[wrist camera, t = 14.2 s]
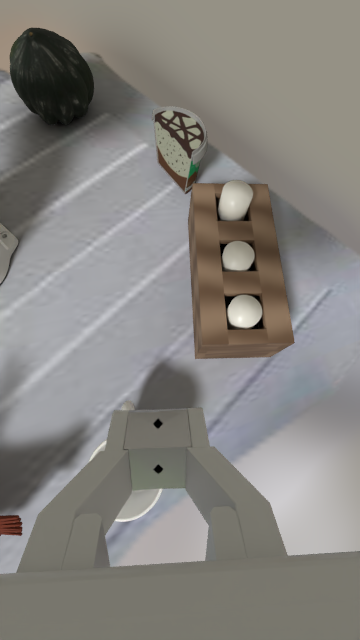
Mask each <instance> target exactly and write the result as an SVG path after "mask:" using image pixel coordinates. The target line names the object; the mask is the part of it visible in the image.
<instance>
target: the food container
mask: <svg viewBox="0 0 360 640" xmlns="http://www.w3.org/2000/svg"><path fill="white" fill-rule="evenodd" d="M152 120H154V128H155V140H156V151H157V162H158V164H159V166H160V167H161V168H162V169H163V170H164V171H165V172H166V174H167V175H168V176H169V177H170V178H171V179H172V180H173V181H174V183H175V184H176V185H177V186H178V187H179V188H180V189H181V191H182V192H183V193H184V194H186V193H188V192H189V191H190V190H191V189H192V183H195V181H196V177H197V173H198V168H199V164H200V160H201V159H202V157H203V156H204V155H205V153H206V150H207V145H208V141H207V132H206V129H205V126H204V124H203V122H202V120H201V119H200V118H199V117H198V116H197V115H195V114H194V113H192V112H191V111H188V110H186V109H183V108H179V107H161V108H157V109H154V110H153V113H152Z"/></svg>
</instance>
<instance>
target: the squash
mask: <svg viewBox="0 0 360 640" xmlns="http://www.w3.org/2000/svg"><path fill="white" fill-rule="evenodd" d="M10 64H11V65H10V75H11V80H12V83H13V85H14V88H15V90H16V92H17V93H18V95H19V97H20V98H21V99H22V100H23V102H24V103H25V104H26V106H27V107H28V108H29V109H30V110H31V111H32V112H33V113H35V114H38V115H39V116H40V117H41V118H42V119H43V120H44V121H45V122H46V123H48V124H50V125H54V124H56V123H57V122H58V121H60V122H61V123H63V124H64V125H68V124H69V123H70V122H71V121H72V119H73V117H78V118H81V117H83V116H84V115H85V114H86V113H87V110H88V105H89V104H90V102H91V100H92V97H93V92H94V82H93V76H92V73H91V70H90V68H89V66H88V64H87V63H86V61H85V60H84V59H83V57H82V56H81V55H80V54H79V52H78V50H77V49H76V47H75V46H74V45H73V44H72V43H71V42H70V41H69V40H67V39H65V38H64V37H61V36H59V35H58V34H56V33H55V32H52V31H49V30H46V29H41V28H29V29H27V30H26V31H24V32H23V34H22V35H21V36H20V37H19V38H18V39H17V40H16V41H15V42H14V44H13V46H12V48H11V53H10Z"/></svg>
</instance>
